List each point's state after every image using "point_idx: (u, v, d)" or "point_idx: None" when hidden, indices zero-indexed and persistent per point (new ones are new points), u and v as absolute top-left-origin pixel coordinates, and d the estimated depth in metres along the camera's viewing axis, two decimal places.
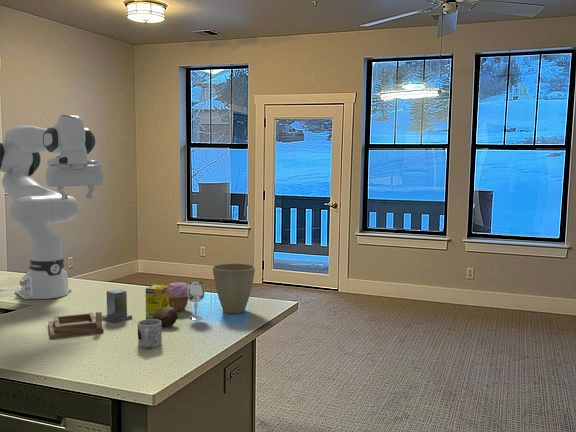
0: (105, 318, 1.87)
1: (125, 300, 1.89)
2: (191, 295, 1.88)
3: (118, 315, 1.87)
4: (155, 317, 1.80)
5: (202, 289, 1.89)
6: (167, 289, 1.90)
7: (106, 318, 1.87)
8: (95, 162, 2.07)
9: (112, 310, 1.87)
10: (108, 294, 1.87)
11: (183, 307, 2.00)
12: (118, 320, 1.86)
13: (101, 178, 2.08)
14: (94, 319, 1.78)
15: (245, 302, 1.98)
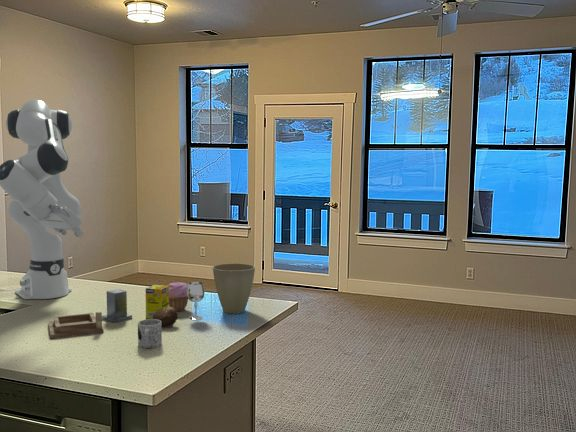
0: (105, 318, 1.87)
1: (125, 300, 1.89)
2: (191, 295, 1.88)
3: (118, 315, 1.87)
4: (155, 317, 1.80)
5: (202, 289, 1.89)
6: (167, 289, 1.90)
7: (106, 318, 1.87)
8: (57, 209, 1.68)
9: (112, 310, 1.87)
10: (108, 294, 1.87)
11: (183, 307, 2.00)
12: (118, 320, 1.86)
13: (70, 225, 1.70)
14: (94, 319, 1.78)
15: (245, 302, 1.98)
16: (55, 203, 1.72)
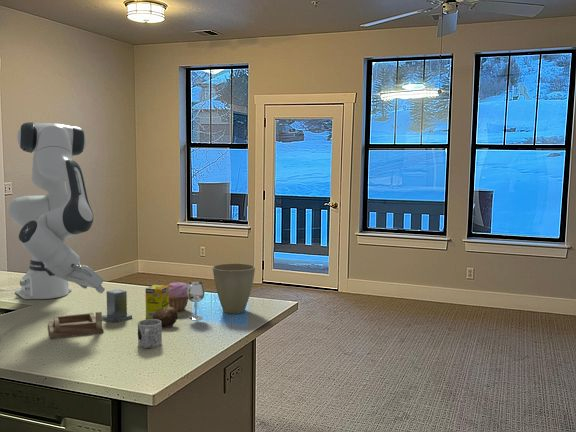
0: (105, 318, 1.87)
1: (125, 300, 1.89)
2: (191, 295, 1.88)
3: (118, 315, 1.87)
4: (155, 317, 1.80)
5: (202, 289, 1.89)
6: (167, 289, 1.90)
7: (106, 318, 1.87)
8: (79, 269, 1.68)
9: (112, 310, 1.87)
10: (108, 294, 1.87)
11: (183, 307, 2.00)
12: (118, 320, 1.86)
13: (91, 285, 1.71)
14: (94, 319, 1.78)
15: (245, 302, 1.98)
16: (77, 261, 1.72)
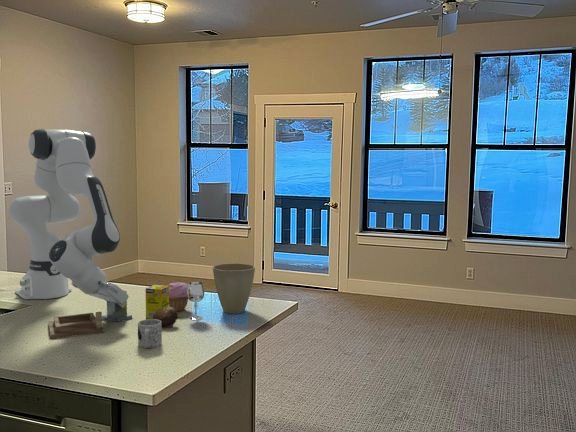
0: (105, 318, 1.87)
1: None
2: (191, 295, 1.88)
3: (118, 315, 1.87)
4: (155, 317, 1.80)
5: (202, 289, 1.89)
6: (167, 289, 1.90)
7: (106, 318, 1.87)
8: (106, 286, 1.76)
9: (112, 310, 1.87)
10: None
11: (183, 307, 2.00)
12: (118, 320, 1.86)
13: (117, 301, 1.78)
14: (94, 319, 1.78)
15: (245, 302, 1.98)
16: (103, 278, 1.80)
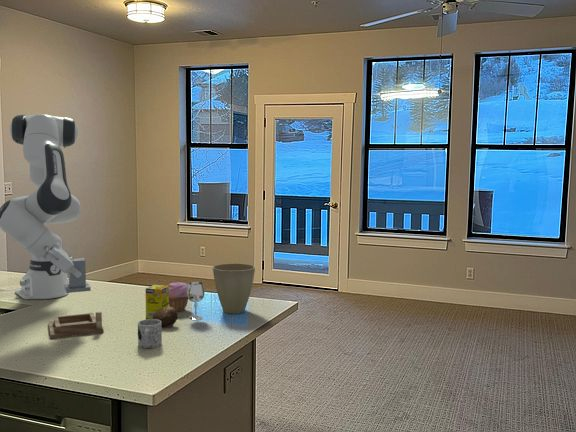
0: (64, 287, 1.77)
1: (83, 270, 1.75)
2: (191, 295, 1.88)
3: (74, 285, 1.74)
4: (155, 317, 1.80)
5: (202, 289, 1.89)
6: (167, 289, 1.90)
7: (65, 287, 1.76)
8: (46, 251, 1.65)
9: (69, 279, 1.75)
10: None
11: (183, 307, 2.00)
12: (72, 290, 1.73)
13: (59, 269, 1.66)
14: (94, 319, 1.78)
15: (246, 302, 1.98)
16: (52, 244, 1.69)
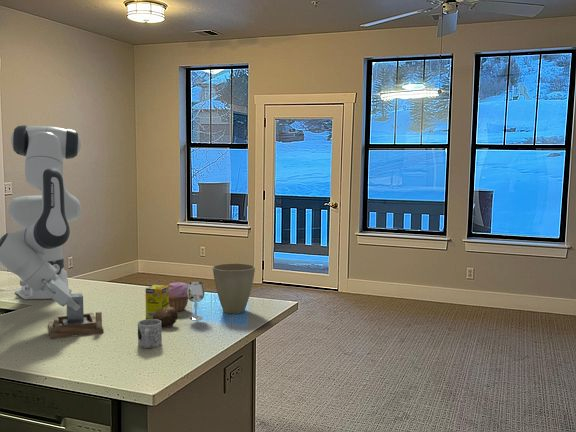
0: (63, 322, 1.77)
1: (81, 306, 1.76)
2: (191, 295, 1.88)
3: (72, 321, 1.75)
4: (155, 317, 1.80)
5: (202, 289, 1.89)
6: (167, 289, 1.90)
7: (63, 323, 1.77)
8: (44, 285, 1.65)
9: (67, 315, 1.76)
10: None
11: (183, 307, 2.00)
12: None
13: None
14: (94, 319, 1.78)
15: (246, 302, 1.98)
16: (50, 276, 1.69)
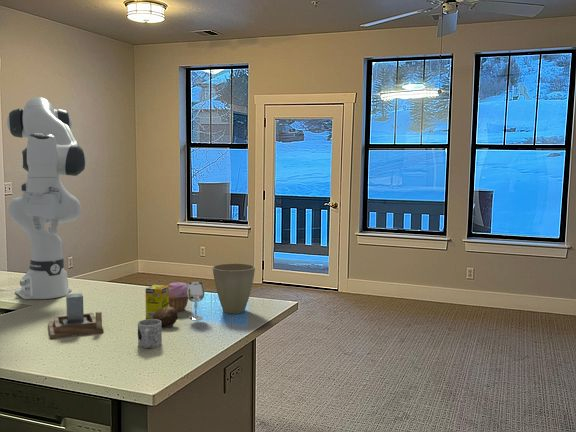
0: (63, 322, 1.77)
1: (81, 306, 1.76)
2: (191, 295, 1.88)
3: (72, 321, 1.75)
4: (155, 317, 1.80)
5: (202, 289, 1.89)
6: (167, 289, 1.90)
7: (63, 323, 1.77)
8: (55, 190, 1.67)
9: (67, 315, 1.76)
10: (66, 298, 1.77)
11: (183, 307, 2.00)
12: None
13: (53, 211, 1.66)
14: (94, 319, 1.78)
15: (245, 302, 1.98)
16: None
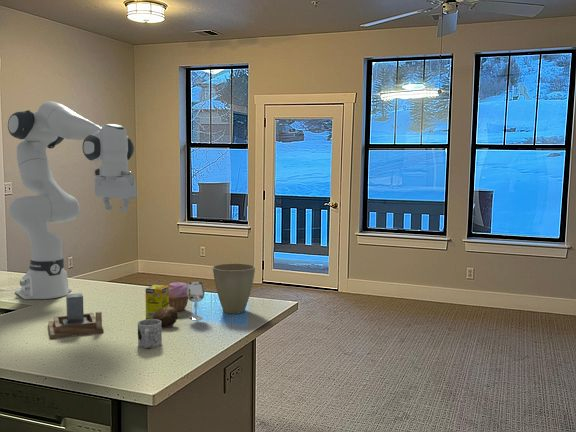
0: (63, 322, 1.77)
1: (81, 306, 1.76)
2: (191, 295, 1.88)
3: (72, 321, 1.75)
4: (155, 317, 1.80)
5: (202, 289, 1.89)
6: (167, 289, 1.90)
7: (63, 323, 1.77)
8: (127, 174, 1.91)
9: (67, 315, 1.76)
10: (66, 298, 1.77)
11: (183, 307, 2.00)
12: None
13: (126, 192, 1.89)
14: (94, 319, 1.78)
15: (246, 302, 1.98)
16: None
